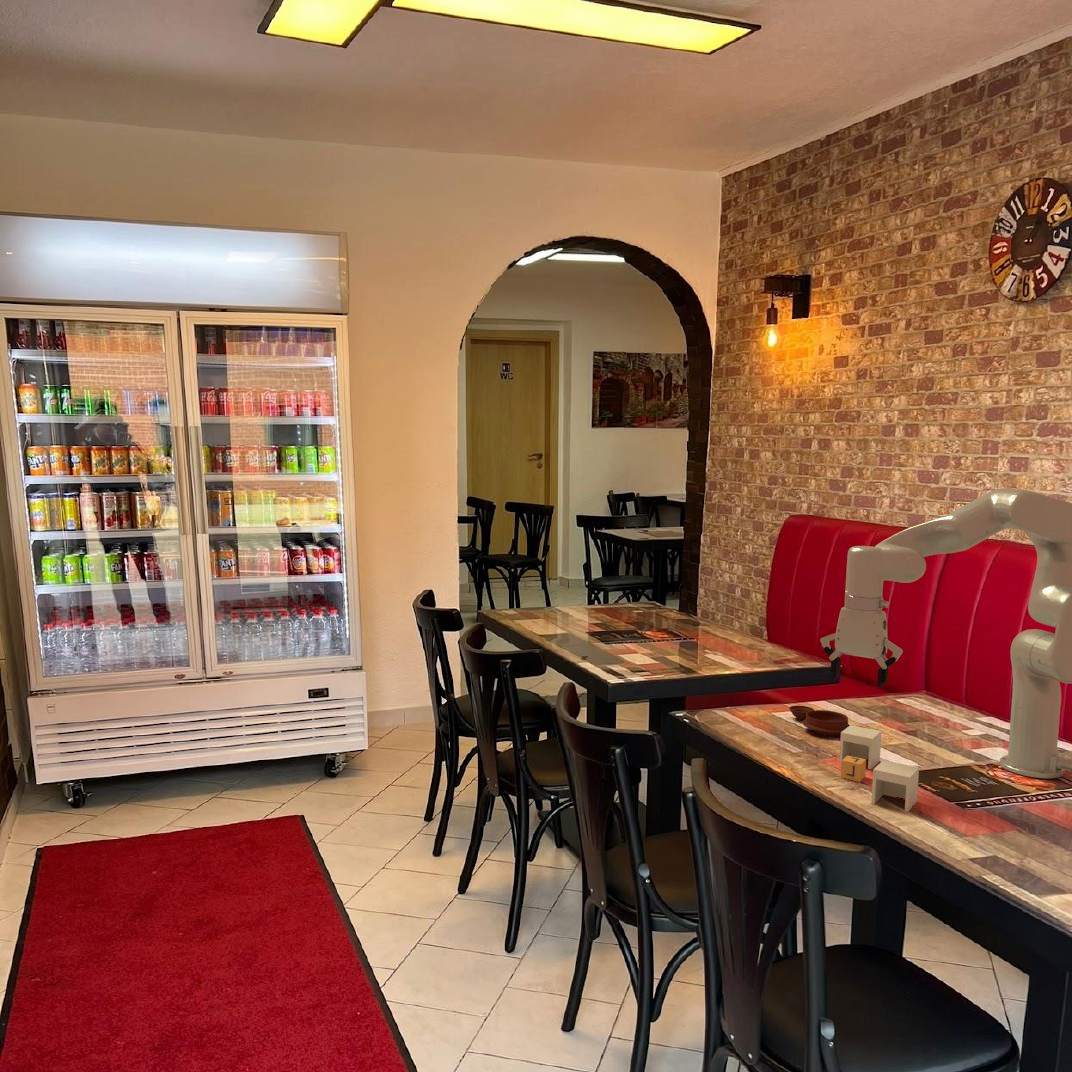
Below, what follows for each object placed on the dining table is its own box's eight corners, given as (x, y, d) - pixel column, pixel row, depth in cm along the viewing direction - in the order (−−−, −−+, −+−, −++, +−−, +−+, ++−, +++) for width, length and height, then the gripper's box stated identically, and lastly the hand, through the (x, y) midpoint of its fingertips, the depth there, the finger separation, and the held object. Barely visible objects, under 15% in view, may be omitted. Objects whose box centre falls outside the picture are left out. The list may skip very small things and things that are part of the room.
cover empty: (917, 801, 182) (919, 767, 181) (907, 812, 176) (910, 777, 175) (881, 792, 186) (883, 760, 185) (871, 803, 180) (873, 769, 179)
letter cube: (865, 777, 195) (866, 759, 195) (859, 782, 192) (860, 764, 191) (846, 773, 197) (847, 755, 197) (840, 778, 194) (841, 760, 194)
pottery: (819, 741, 219) (820, 724, 218) (775, 718, 238) (775, 702, 237) (860, 738, 222) (861, 720, 222) (813, 715, 241) (814, 699, 241)
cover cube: (879, 761, 205) (881, 731, 205) (870, 769, 200) (872, 738, 199) (848, 754, 209) (850, 725, 209) (839, 762, 204) (840, 732, 203)
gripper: (909, 606, 190) (904, 685, 192) (829, 597, 201) (825, 671, 202) (899, 611, 184) (894, 692, 186) (817, 600, 195) (812, 677, 197)
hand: (858, 681), depth 194 cm, fingers open, 9 cm apart
